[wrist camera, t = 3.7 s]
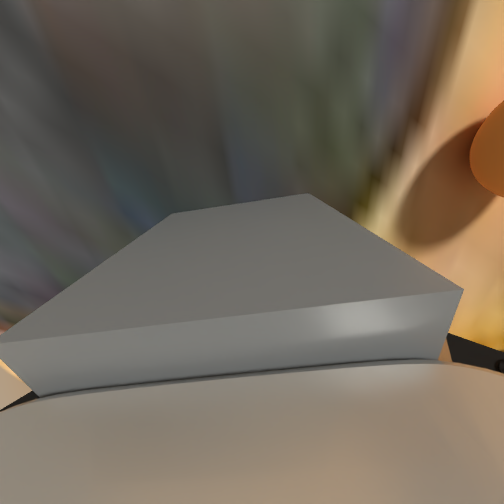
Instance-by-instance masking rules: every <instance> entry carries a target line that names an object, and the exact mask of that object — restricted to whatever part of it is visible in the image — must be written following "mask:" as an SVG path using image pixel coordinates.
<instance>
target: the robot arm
mask: <svg viewBox="0 0 504 504" xmlns="http://www.w3.org/2000/svg"><path fill="white" fill-rule="evenodd" d="M0 504H504V352H501V351H498V350H495V349H492V348H490V347H487V346H484V345H481V344H478V343H475V342H472V341H470V340H467V339H464V338H461V337H458V336H455V335H453V334H450V333H448V334H447V336H446V339H445V342H444V344H443V347H442V350H441V352H440V355H439V358H438V360H419V359H406V360H383V361H369V362H358V363H345V364H335V365H324V366H313V367H303V368H292V369H282V370H271V371H261V372H251V373H241V374H231V375H221V376H210V377H200V378H191V379H181V380H171V381H162V382H152V383H142V384H133V385H123V386H114V387H105V388H97V389H89V390H81V391H74V392H68V393H62V394H56V395H52V396H48V397H43V398H40V397H39V396H38V395H37V394H36V393H35V392H34V391H31V392H30V393H28V394H26V395H25V396H23V397H21V398H20V399H18V400H16V401H15V402H13V403H11V404H10V405H8V406H6V407H4V408H3V409H1V410H0Z"/></svg>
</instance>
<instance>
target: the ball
mask: <svg viewBox="0 0 504 504" xmlns="http://www.w3.org/2000/svg"><path fill="white" fill-rule="evenodd" d="M470 167H471V170H472V173H473V175H474V176H475V178H476V179H477V181H478V182H479V183H480V184H481V185H482V186H483V187H484V188H486V189H487V190H489V191H491V192H492V193H494V194H496V195H499V196H502V197H504V101H503V102H502V103H500V104H499V105H498V106H497V107H496V108H495V109H494V110H493V111H492V112H491V113H490V115H489V116H488V117H487V118H486V120H485V121H484V122H483V124H482V125H481V127H480V128H479V130H478V131H477V133H476V135H475V137H474V139H473V142H472V145H471V149H470Z"/></svg>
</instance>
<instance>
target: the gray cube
mask: <svg viewBox="0 0 504 504" xmlns="http://www.w3.org/2000/svg"><path fill="white" fill-rule="evenodd" d="M463 291H464V289H463V288H461V287H459V286H458V285H456V284H454V283H453V282H451V281H450V280H448V279H446V278H445V277H443V276H442V275H440V274H438V273H437V272H435V271H433V270H432V269H430V268H429V267H427V266H425V265H424V264H422V263H421V262H419V261H417V260H416V259H414V258H412V257H411V256H409V255H408V254H406V253H404V252H403V251H401V250H400V249H398V248H396V247H395V246H393V245H391V244H390V243H388V242H387V241H385V240H383V239H382V238H380V237H379V236H377V235H375V234H374V233H372V232H370V231H369V230H367V229H366V228H364V227H362V226H361V225H359V224H358V223H356V222H354V221H353V220H351V219H349V218H348V217H346V216H345V215H343V214H341V213H340V212H338V211H337V210H335V209H333V208H332V207H330V206H328V205H327V204H325V203H324V202H322V201H320V200H319V199H317V198H316V197H314V196H312V195H311V194H309V193H306V194H300V195H293V196H286V197H280V198H273V199H266V200H260V201H253V202H246V203H240V204H233V205H226V206H220V207H213V208H206V209H200V210H193V211H186V212H180V213H173V214H171V215H170V216H168V217H167V218H165V219H164V220H162V221H161V222H160V223H158V224H157V225H155V226H154V227H153V228H151V229H150V230H148V231H147V232H145V233H144V234H143V235H141V236H140V237H138V238H137V239H136V240H134V241H133V242H131V243H130V244H129V245H127V246H126V247H124V248H123V249H121V250H120V251H119V252H117V253H116V254H114V255H113V256H112V257H110V258H109V259H107V260H106V261H105V262H103V263H102V264H100V265H99V266H97V267H96V268H95V269H93V270H92V271H90V272H89V273H88V274H86V275H85V276H83V277H82V278H81V279H79V280H78V281H76V282H75V283H73V284H72V285H71V286H69V287H68V288H66V289H65V290H64V291H62V292H61V293H59V294H58V295H56V296H55V297H54V298H52V299H51V300H49V301H48V302H47V303H45V304H44V305H42V306H41V307H40V308H38V309H37V310H35V311H34V312H32V313H31V314H30V315H28V316H27V317H25V318H24V319H23V320H21V321H20V322H18V323H17V324H16V325H14V326H13V327H11V328H10V329H8V330H7V331H6V332H4V333H3V334H1V335H0V359H1V360H2V361H3V362H4V363H5V364H6V365H7V366H8V367H9V368H10V369H11V370H12V371H13V372H14V373H15V374H16V375H17V376H18V377H19V378H20V379H22V380H23V381H24V382H25V383H26V384H27V385H28V386H29V387H30V388H31V389H32V390H33V391H34V392H35V393H36V394H37V395H38V396H39V397H40V398H43V397H48V396H52V395H56V394H62V393H68V392H74V391H81V390H89V389H97V388H105V387H114V386H123V385H133V384H142V383H152V382H162V381H171V380H181V379H191V378H200V377H210V376H221V375H231V374H241V373H251V372H261V371H271V370H282V369H292V368H303V367H313V366H324V365H335V364H345V363H358V362H369V361H383V360H406V359H419V360H438V358H439V355H440V352H441V350H442V347H443V344H444V342H445V339H446V336H447V334H448V331H449V328H450V326H451V323H452V320H453V317H454V315H455V312H456V309H457V307H458V304H459V301H460V299H461V296H462V293H463Z"/></svg>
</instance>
